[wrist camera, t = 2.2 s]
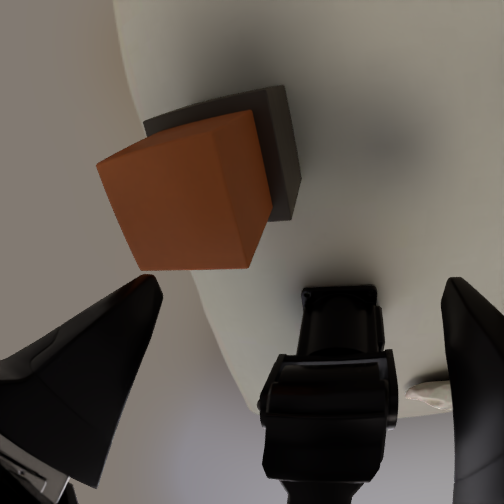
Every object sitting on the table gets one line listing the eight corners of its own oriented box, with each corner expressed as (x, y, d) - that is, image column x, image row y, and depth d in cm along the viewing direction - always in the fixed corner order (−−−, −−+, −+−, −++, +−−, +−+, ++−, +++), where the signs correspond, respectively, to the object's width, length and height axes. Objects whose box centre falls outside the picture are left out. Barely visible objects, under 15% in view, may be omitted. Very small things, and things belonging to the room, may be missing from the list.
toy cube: (185, 216, 16) (140, 271, 12) (158, 131, 13) (94, 164, 9) (273, 208, 14) (249, 269, 11) (252, 109, 12) (211, 130, 8)
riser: (213, 189, 21) (178, 230, 17) (189, 105, 18) (142, 121, 13) (301, 179, 19) (291, 220, 15) (284, 84, 16) (266, 89, 11)
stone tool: (511, 366, 23) (420, 364, 27) (515, 389, 21) (421, 391, 25) (480, 394, 29) (396, 393, 33) (481, 414, 26) (395, 416, 30)
